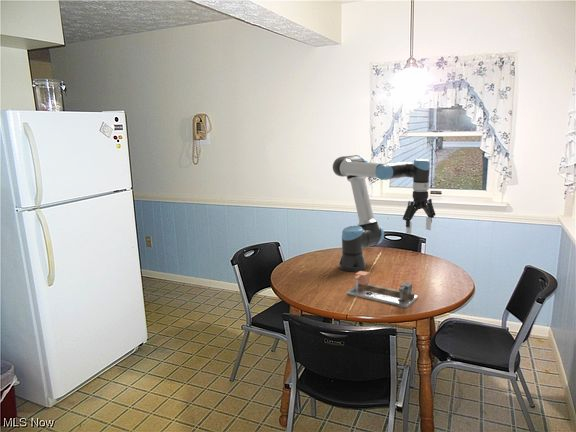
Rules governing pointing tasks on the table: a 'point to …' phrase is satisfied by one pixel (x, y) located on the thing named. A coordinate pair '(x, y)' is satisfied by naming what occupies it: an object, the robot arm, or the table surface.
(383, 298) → the bolt plate
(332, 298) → the table surface
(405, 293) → the rail and fixed leg
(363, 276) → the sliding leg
